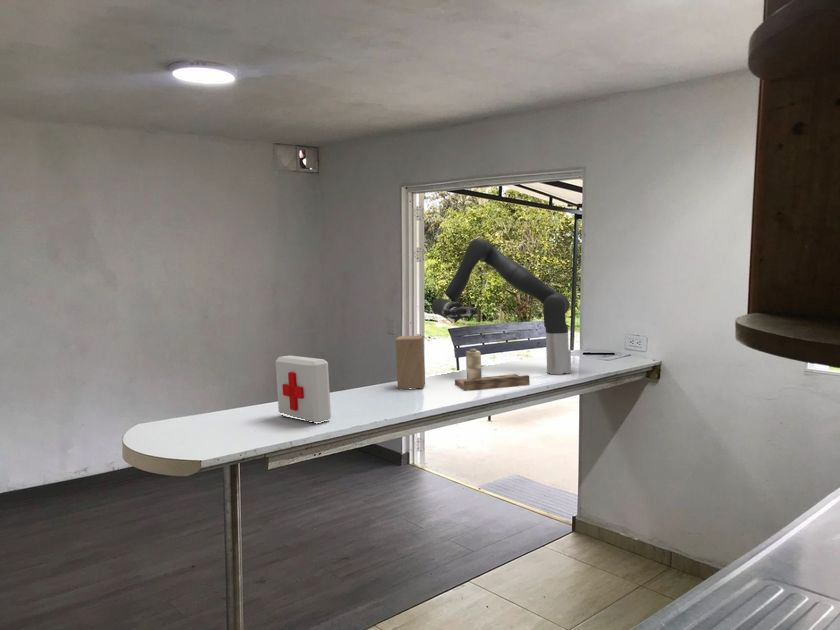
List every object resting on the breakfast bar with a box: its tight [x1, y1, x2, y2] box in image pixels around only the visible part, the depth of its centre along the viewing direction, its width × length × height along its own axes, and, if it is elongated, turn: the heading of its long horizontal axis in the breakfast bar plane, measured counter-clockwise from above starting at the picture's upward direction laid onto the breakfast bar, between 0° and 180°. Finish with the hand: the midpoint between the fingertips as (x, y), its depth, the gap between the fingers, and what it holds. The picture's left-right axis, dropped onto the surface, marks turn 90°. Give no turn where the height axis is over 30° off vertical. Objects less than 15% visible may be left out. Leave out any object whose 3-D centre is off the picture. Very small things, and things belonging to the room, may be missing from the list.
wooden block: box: [395, 335, 426, 390], centre depth 261 cm, size 10×10×20 cm
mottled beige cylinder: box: [465, 348, 482, 380], centre depth 254 cm, size 4×4×13 cm
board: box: [454, 373, 531, 392], centre depth 259 cm, size 26×14×4 cm, turn 104°
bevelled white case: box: [275, 355, 332, 422], centre depth 214 cm, size 21×8×20 cm, turn 46°
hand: (465, 312), depth 267 cm, fingers open, 8 cm apart
